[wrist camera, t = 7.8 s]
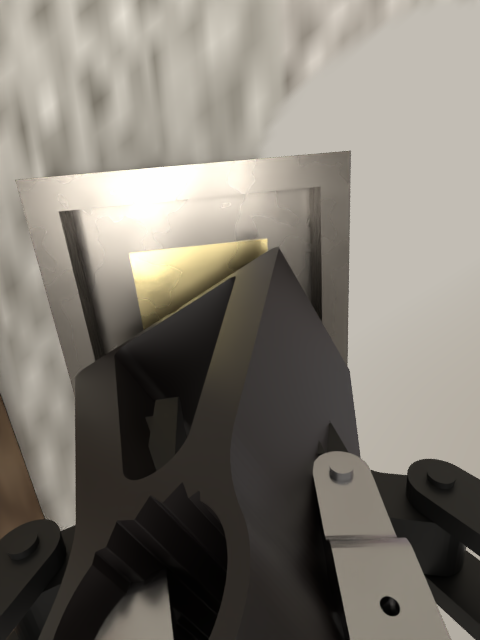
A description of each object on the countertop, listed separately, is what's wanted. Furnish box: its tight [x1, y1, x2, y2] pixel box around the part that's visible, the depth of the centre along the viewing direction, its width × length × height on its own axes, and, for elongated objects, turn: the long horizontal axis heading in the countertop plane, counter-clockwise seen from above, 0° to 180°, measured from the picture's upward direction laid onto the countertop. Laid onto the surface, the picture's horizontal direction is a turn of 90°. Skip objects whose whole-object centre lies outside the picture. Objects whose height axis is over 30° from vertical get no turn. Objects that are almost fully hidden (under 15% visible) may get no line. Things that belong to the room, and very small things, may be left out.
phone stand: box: [38, 247, 360, 640], centre depth 10 cm, size 9×6×12 cm, turn 121°
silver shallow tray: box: [15, 151, 351, 395], centre depth 18 cm, size 15×12×3 cm
